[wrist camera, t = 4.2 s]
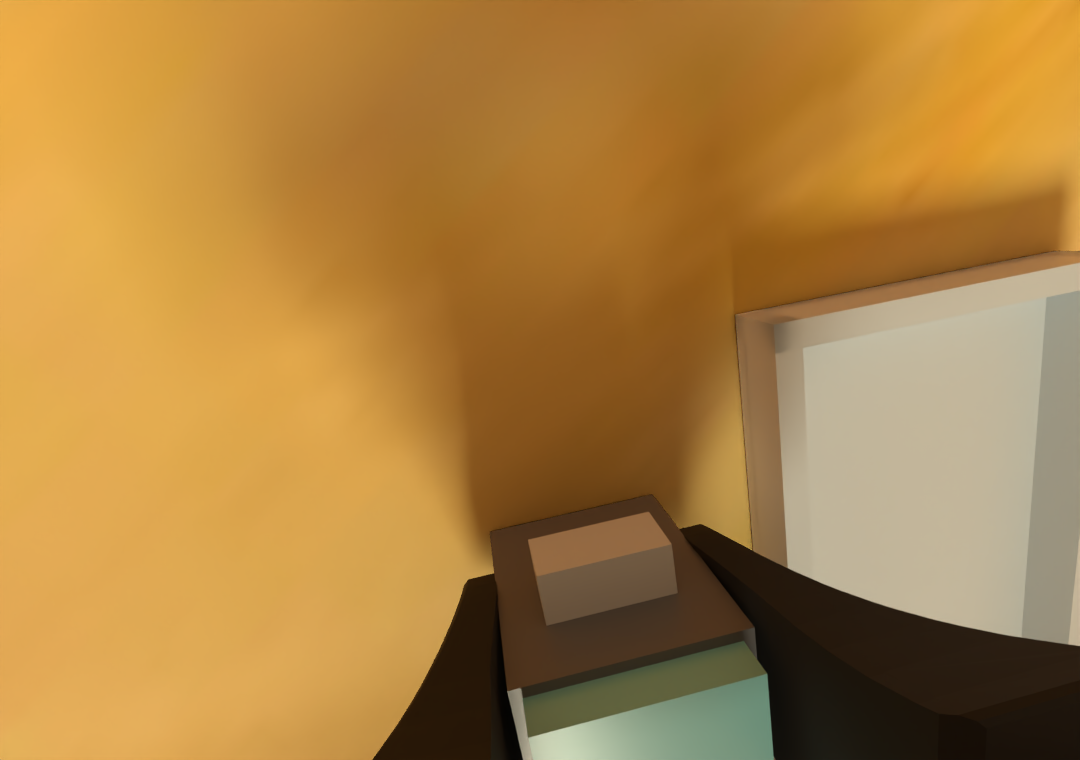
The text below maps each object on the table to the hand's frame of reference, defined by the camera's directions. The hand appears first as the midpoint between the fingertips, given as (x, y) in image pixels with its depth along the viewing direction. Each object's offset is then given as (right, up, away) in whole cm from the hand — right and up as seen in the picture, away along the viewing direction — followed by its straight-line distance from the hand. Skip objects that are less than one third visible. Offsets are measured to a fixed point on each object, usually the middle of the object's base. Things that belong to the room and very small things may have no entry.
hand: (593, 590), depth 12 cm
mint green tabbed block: (0, -2, +2) cm, 3 cm away
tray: (+8, +1, +3) cm, 9 cm away
